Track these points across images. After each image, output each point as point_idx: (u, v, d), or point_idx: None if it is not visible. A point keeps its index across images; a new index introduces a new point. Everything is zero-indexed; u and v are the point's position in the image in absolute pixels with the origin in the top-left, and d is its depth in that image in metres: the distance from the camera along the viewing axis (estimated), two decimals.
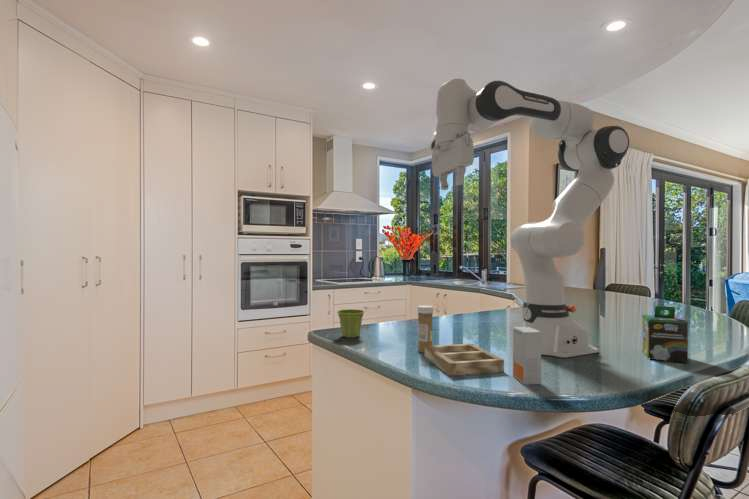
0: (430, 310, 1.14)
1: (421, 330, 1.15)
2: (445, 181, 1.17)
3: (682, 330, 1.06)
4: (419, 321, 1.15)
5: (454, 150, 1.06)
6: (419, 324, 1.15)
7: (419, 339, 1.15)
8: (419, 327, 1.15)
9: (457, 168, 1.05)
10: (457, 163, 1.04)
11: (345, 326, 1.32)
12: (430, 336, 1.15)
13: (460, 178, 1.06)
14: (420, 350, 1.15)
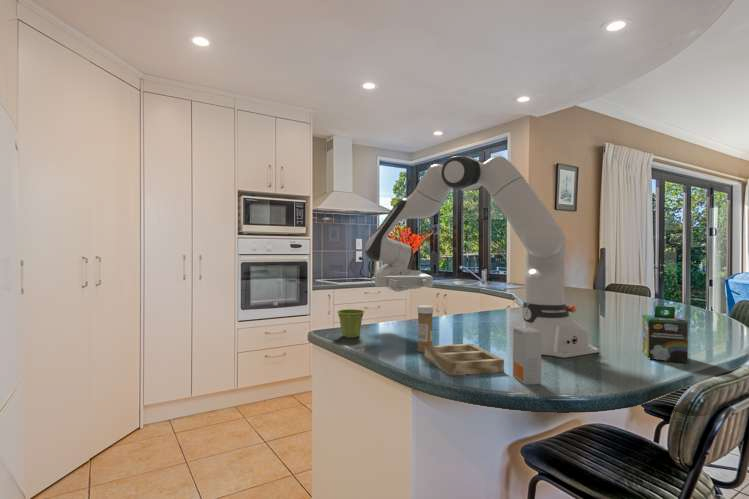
0: (430, 310, 1.14)
1: (421, 330, 1.15)
2: None
3: (682, 330, 1.06)
4: (419, 321, 1.15)
5: None
6: (419, 324, 1.15)
7: (419, 339, 1.15)
8: (419, 327, 1.15)
9: (389, 285, 1.30)
10: (384, 286, 1.31)
11: (345, 326, 1.32)
12: (430, 336, 1.15)
13: (393, 282, 1.28)
14: (420, 350, 1.15)
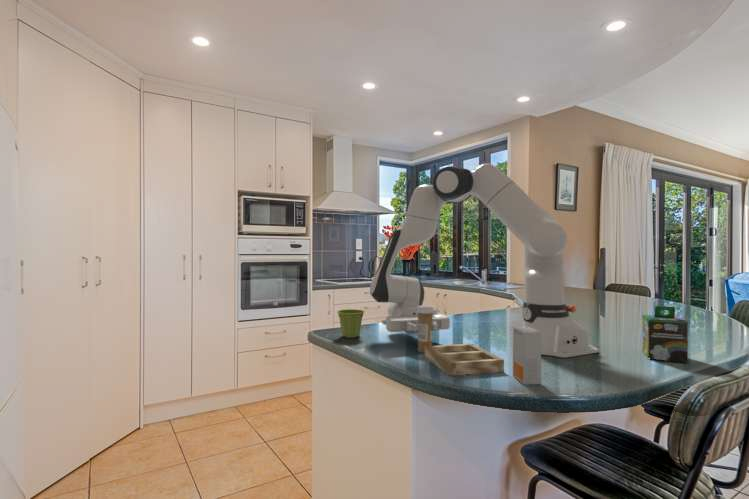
0: (430, 310, 1.14)
1: (421, 330, 1.15)
2: None
3: (682, 330, 1.06)
4: (419, 321, 1.15)
5: None
6: (419, 324, 1.15)
7: (419, 339, 1.15)
8: (419, 327, 1.15)
9: None
10: (397, 331, 1.19)
11: (345, 326, 1.32)
12: (430, 336, 1.15)
13: (412, 327, 1.16)
14: (420, 350, 1.15)
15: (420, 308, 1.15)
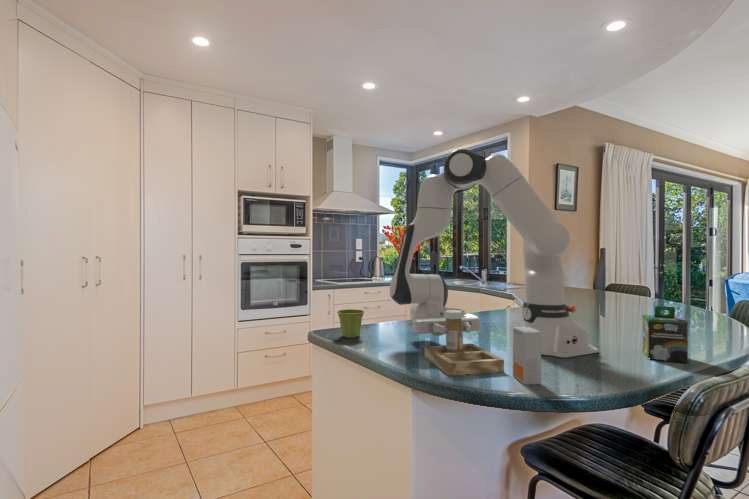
0: (459, 315, 1.06)
1: (449, 337, 1.06)
2: None
3: (682, 330, 1.06)
4: None
5: None
6: None
7: (448, 347, 1.07)
8: (447, 334, 1.07)
9: None
10: None
11: (345, 326, 1.32)
12: (460, 343, 1.06)
13: (440, 329, 1.07)
14: None
15: (448, 313, 1.06)
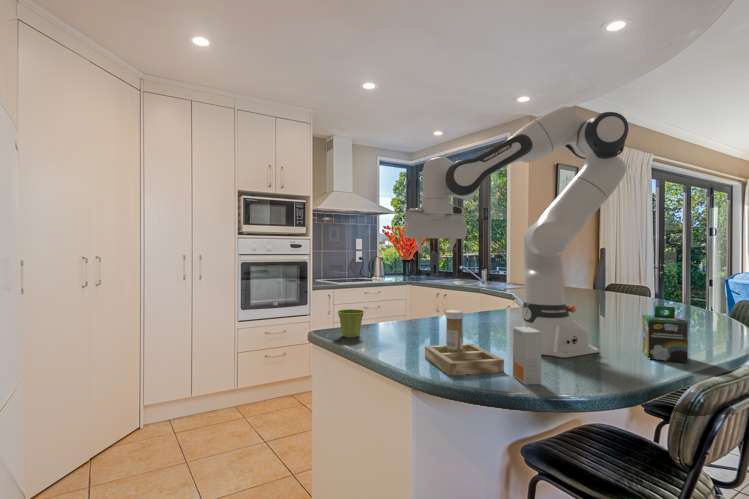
0: (460, 315, 1.06)
1: (450, 337, 1.06)
2: (451, 245, 1.25)
3: (682, 330, 1.06)
4: (448, 327, 1.07)
5: None
6: (448, 331, 1.07)
7: (448, 347, 1.07)
8: (448, 334, 1.07)
9: None
10: None
11: (345, 326, 1.32)
12: (460, 343, 1.06)
13: (419, 247, 1.23)
14: None
15: (449, 313, 1.06)
